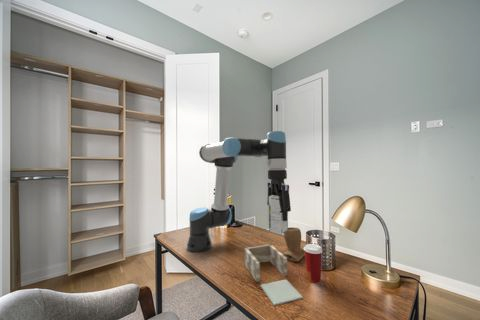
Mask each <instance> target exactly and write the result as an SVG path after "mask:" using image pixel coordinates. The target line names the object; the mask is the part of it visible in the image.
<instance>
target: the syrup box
mask: <svg viewBox="0 0 480 320" xmlns="http://www.w3.org/2000/svg"><path fill="white" fill-rule="evenodd" d="M279 211H281V208H280V204H279V197H278V195H272V196H269V205H268V231H269V232H270V233H274V234H278V235H284V232H286V231H288V228H289V226H288V225H289V218H288V217H289V216H288V214H289V212H287V229H283V230H281V229H280V212H279Z"/></svg>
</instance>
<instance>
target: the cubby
mask: <svg viewBox="0 0 480 320" xmlns="http://www.w3.org/2000/svg"><path fill="white" fill-rule="evenodd" d="M283 254H284V253H282V252H280V250H278V249H277V248H276V247H274V245H272V244H263V245H258V246H251V247H244V249H243V256H244V257H243V259H244V260H243V261H244V262H243V264H244V266H245V267H246V269H247V270H248V272H249V273H250V275H251V276H252V278H253V279H254V281H255V282H256V283H259V282H260V281H261V275H260V273H261V272H260V271H261V269H260V268H261V265H260V264H261V263H267V262H270V263H271V265H273V267H275V268H276V270H278V272H280V274H281V275H282V276H284V277H288V259H287V258H286V257H285V256H284V255H283Z"/></svg>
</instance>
